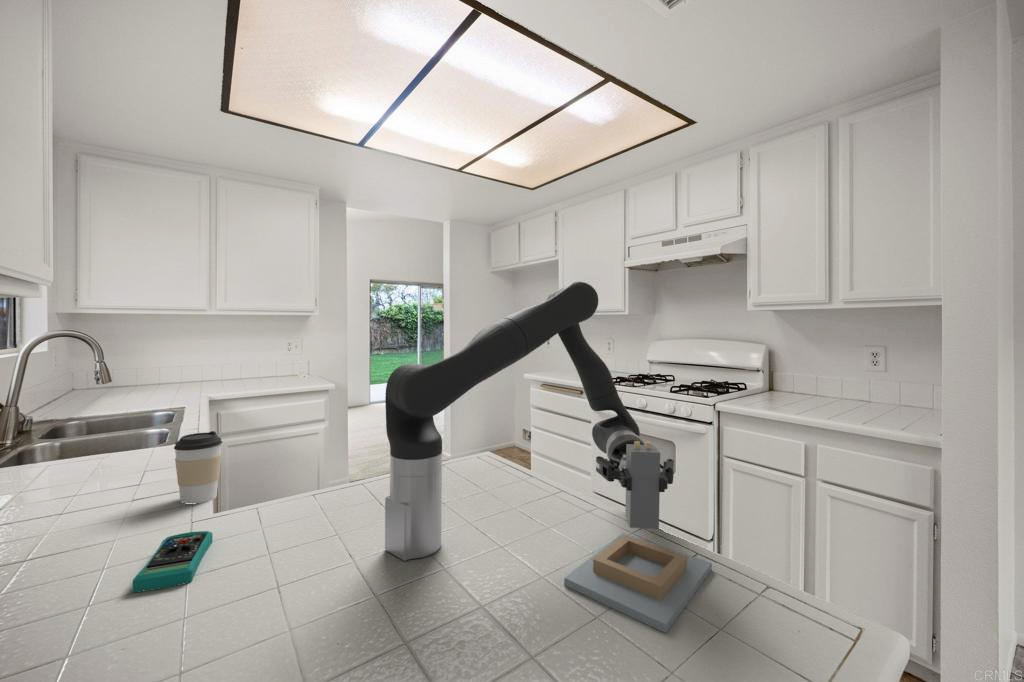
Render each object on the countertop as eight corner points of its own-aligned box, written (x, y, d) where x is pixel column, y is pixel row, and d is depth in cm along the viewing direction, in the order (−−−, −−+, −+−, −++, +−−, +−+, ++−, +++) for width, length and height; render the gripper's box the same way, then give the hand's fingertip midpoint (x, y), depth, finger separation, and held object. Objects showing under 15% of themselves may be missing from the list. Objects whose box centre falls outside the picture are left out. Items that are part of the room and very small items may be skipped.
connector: (630, 527, 67) (631, 445, 67) (625, 515, 72) (626, 438, 71) (658, 529, 67) (660, 446, 66) (652, 516, 71) (653, 439, 71)
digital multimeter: (213, 542, 80) (213, 526, 80) (191, 586, 66) (191, 567, 66) (165, 550, 77) (164, 534, 77) (130, 597, 63) (130, 578, 63)
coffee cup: (184, 510, 93) (184, 441, 92) (167, 500, 98) (166, 435, 97) (230, 496, 100) (229, 433, 100) (211, 488, 105) (211, 427, 105)
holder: (666, 633, 56) (666, 609, 56) (564, 585, 67) (564, 565, 67) (711, 570, 72) (711, 551, 71) (622, 539, 82) (622, 522, 82)
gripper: (590, 432, 84) (599, 459, 67) (665, 435, 82) (694, 463, 65) (589, 470, 84) (598, 507, 67) (664, 473, 83) (693, 511, 66)
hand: (646, 485), depth 66 cm, fingers closed on connector, 4 cm apart
